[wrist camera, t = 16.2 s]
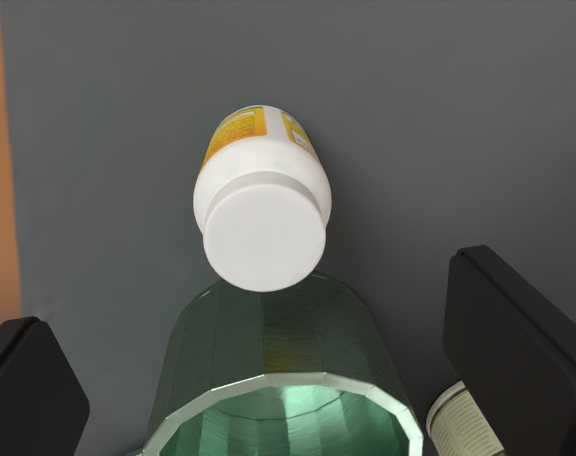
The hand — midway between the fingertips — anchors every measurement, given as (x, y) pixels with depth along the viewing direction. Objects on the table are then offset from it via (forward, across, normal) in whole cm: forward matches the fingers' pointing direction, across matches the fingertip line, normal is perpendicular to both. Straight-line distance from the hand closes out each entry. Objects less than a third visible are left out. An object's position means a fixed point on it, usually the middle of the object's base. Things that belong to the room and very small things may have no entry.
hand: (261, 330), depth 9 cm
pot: (+14, 0, +14) cm, 20 cm away
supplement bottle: (+14, -1, 0) cm, 14 cm away
